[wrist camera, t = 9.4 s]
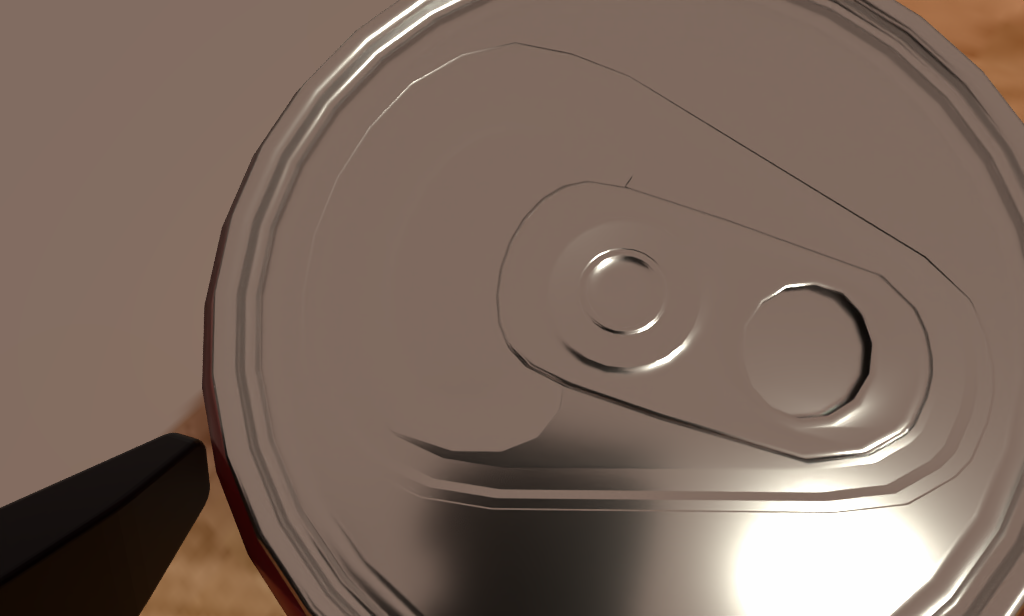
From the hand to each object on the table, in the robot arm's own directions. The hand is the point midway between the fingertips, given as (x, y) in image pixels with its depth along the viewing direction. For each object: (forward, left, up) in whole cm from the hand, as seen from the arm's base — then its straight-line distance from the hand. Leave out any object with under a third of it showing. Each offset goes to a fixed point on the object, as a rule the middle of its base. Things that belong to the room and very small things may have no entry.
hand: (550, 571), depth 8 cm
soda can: (+2, 0, -8) cm, 9 cm away
